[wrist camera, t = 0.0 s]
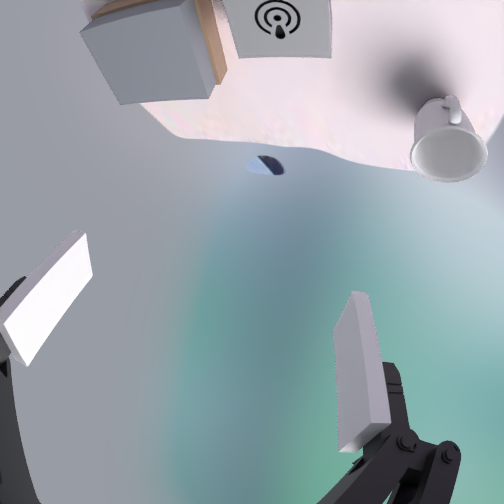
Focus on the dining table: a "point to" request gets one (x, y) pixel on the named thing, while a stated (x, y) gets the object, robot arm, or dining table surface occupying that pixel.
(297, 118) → the dining table surface
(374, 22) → the dining table surface
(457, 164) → the teacup
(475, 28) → the dining table surface
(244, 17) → the icon cube
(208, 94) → the tower base
